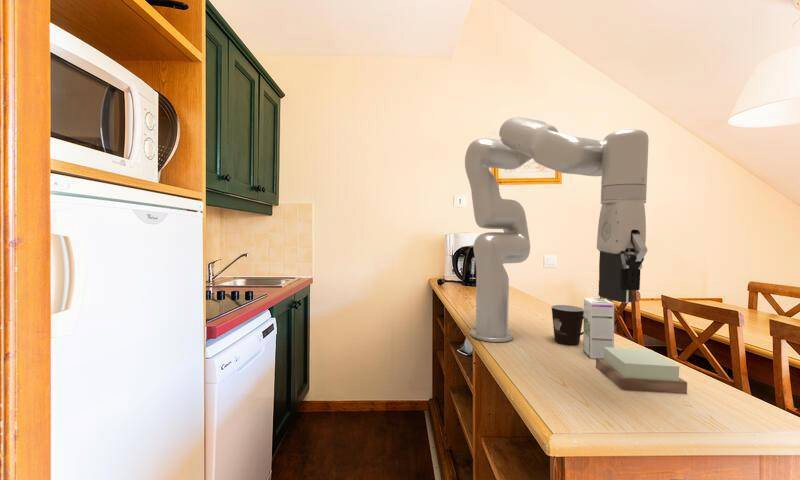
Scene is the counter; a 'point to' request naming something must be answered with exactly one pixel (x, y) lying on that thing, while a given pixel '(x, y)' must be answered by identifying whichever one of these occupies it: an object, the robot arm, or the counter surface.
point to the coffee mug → (567, 324)
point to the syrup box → (598, 326)
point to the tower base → (641, 381)
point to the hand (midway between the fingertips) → (619, 285)
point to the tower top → (641, 364)
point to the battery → (612, 278)
